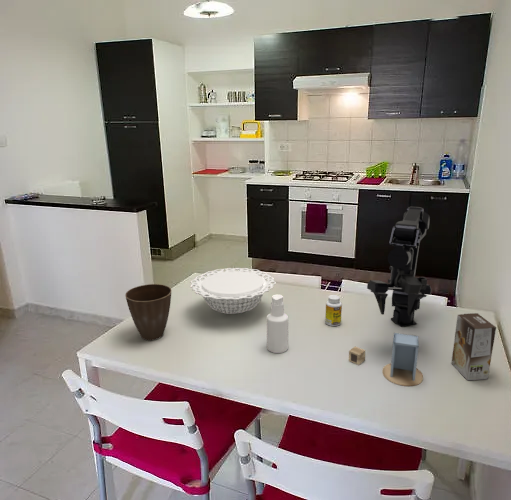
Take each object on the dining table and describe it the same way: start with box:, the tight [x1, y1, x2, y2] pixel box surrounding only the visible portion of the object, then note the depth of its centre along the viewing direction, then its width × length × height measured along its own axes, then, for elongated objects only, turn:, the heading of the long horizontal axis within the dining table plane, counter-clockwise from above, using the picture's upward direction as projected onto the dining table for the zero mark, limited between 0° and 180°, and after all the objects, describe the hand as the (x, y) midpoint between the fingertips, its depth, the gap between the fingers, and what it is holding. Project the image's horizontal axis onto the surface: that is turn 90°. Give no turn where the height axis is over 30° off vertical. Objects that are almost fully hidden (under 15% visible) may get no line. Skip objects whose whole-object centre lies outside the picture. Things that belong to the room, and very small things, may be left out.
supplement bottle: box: [324, 294, 343, 327], centre depth 149 cm, size 6×6×10 cm
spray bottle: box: [266, 293, 289, 354], centre depth 132 cm, size 7×7×18 cm
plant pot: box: [124, 283, 172, 341], centre depth 142 cm, size 15×15×16 cm
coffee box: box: [451, 312, 497, 381], centre depth 119 cm, size 9×6×16 cm
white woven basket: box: [189, 267, 277, 315], centre depth 158 cm, size 32×32×13 cm
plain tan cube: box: [348, 346, 366, 366], centre depth 127 cm, size 4×4×4 cm
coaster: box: [381, 363, 424, 387], centre depth 120 cm, size 11×11×1 cm
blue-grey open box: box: [390, 332, 419, 381], centre depth 118 cm, size 6×6×11 cm
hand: (395, 314), depth 130 cm, fingers open, 9 cm apart
